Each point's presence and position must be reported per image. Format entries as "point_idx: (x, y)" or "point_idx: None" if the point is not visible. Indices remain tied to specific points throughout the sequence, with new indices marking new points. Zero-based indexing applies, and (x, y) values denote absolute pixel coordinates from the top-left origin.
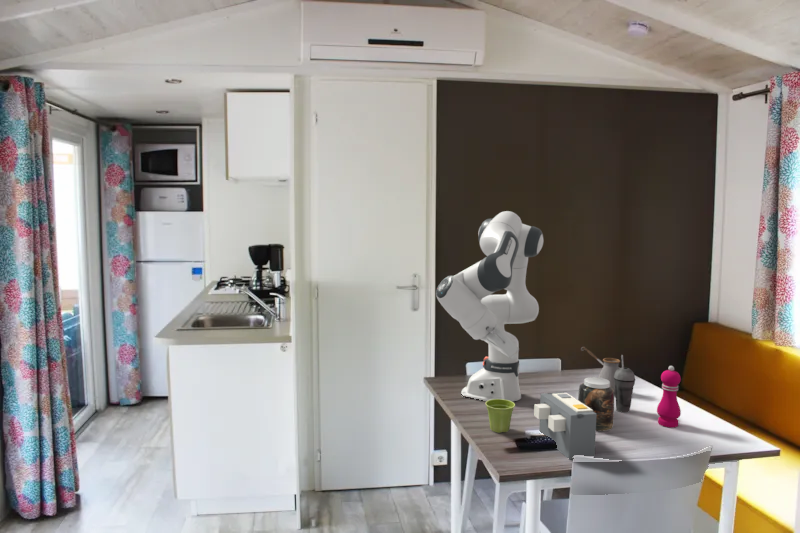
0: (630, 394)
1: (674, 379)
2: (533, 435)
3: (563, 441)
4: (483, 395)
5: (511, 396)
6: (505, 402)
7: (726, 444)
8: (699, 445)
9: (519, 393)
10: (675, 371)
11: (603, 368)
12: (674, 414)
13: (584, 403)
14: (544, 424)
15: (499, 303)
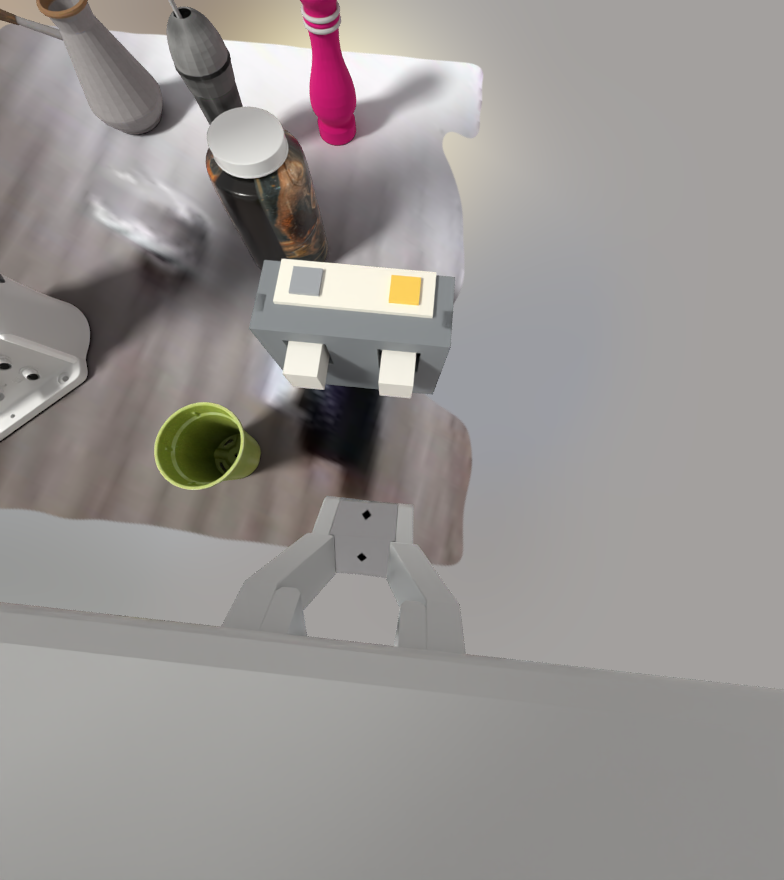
0: (241, 104)
1: None
2: (297, 398)
3: None
4: (22, 395)
5: (73, 334)
6: (182, 416)
7: (446, 109)
8: (438, 147)
9: (64, 305)
10: None
11: (75, 50)
12: (354, 99)
13: (279, 232)
14: None
15: None
